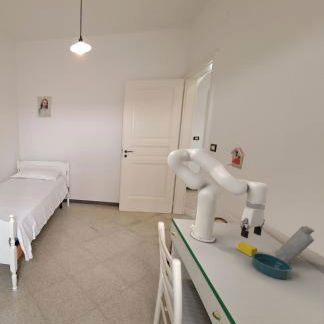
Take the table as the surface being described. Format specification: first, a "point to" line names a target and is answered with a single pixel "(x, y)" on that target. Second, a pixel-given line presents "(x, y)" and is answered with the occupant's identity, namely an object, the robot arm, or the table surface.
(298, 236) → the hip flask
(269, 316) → the table surface
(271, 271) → the bowl
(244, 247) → the sponge
